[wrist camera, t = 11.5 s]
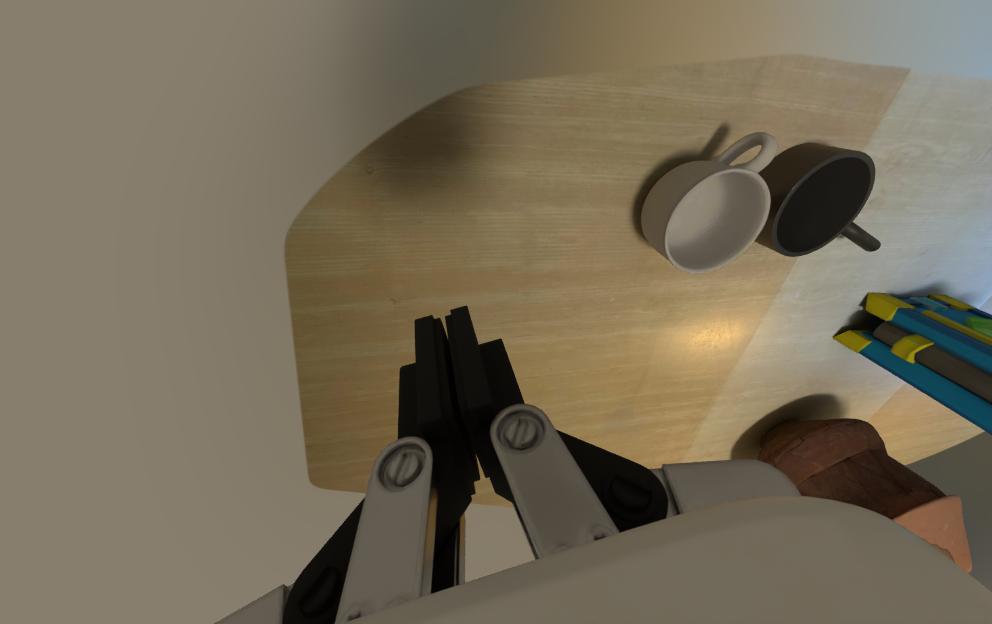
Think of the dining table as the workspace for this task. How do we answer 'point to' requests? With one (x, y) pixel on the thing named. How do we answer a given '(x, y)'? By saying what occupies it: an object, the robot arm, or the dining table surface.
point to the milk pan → (816, 198)
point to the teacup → (710, 207)
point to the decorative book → (933, 350)
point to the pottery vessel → (866, 479)
